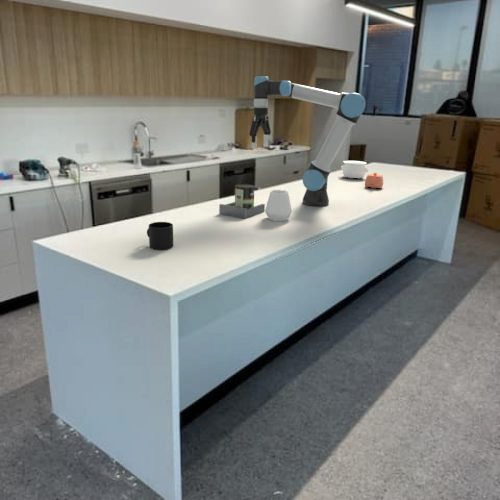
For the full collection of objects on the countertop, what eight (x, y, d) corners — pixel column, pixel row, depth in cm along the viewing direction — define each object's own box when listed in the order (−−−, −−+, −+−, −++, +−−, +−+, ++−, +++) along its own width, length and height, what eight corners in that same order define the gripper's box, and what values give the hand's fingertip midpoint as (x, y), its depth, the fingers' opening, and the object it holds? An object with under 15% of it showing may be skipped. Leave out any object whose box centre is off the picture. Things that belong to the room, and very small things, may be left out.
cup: (294, 217, 235) (295, 190, 230) (287, 223, 223) (289, 195, 218) (269, 214, 239) (270, 188, 234) (261, 220, 227) (262, 192, 222)
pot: (335, 177, 357) (336, 161, 353) (344, 175, 370) (346, 159, 366) (362, 181, 345) (363, 164, 341) (370, 178, 358) (372, 162, 354)
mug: (155, 240, 191) (154, 219, 188) (178, 245, 186) (177, 224, 183) (139, 246, 183) (138, 224, 180) (163, 251, 178) (162, 229, 175)
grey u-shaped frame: (264, 211, 245) (264, 202, 243) (244, 218, 229) (244, 209, 227) (240, 207, 252) (240, 198, 251) (219, 214, 237) (219, 204, 235)
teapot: (384, 187, 324) (386, 172, 321) (378, 191, 310) (379, 175, 306) (368, 185, 330) (370, 170, 326) (361, 189, 315) (363, 173, 311)
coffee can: (255, 210, 246) (256, 184, 241) (251, 215, 236) (252, 188, 232) (236, 209, 248) (237, 183, 243) (232, 213, 238) (232, 186, 234)
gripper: (265, 106, 258) (264, 145, 264) (243, 107, 237) (242, 149, 244) (277, 107, 254) (276, 146, 261) (255, 107, 233) (255, 150, 240)
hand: (260, 147), depth 252 cm, fingers open, 13 cm apart
